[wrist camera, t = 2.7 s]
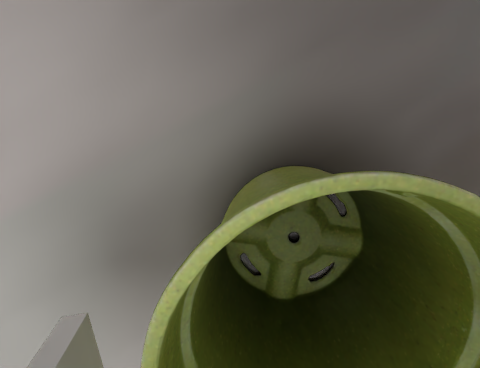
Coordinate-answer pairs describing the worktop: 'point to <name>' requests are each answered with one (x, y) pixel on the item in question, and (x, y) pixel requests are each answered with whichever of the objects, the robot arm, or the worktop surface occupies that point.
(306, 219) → the plant pot
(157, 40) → the worktop surface
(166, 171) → the worktop surface
